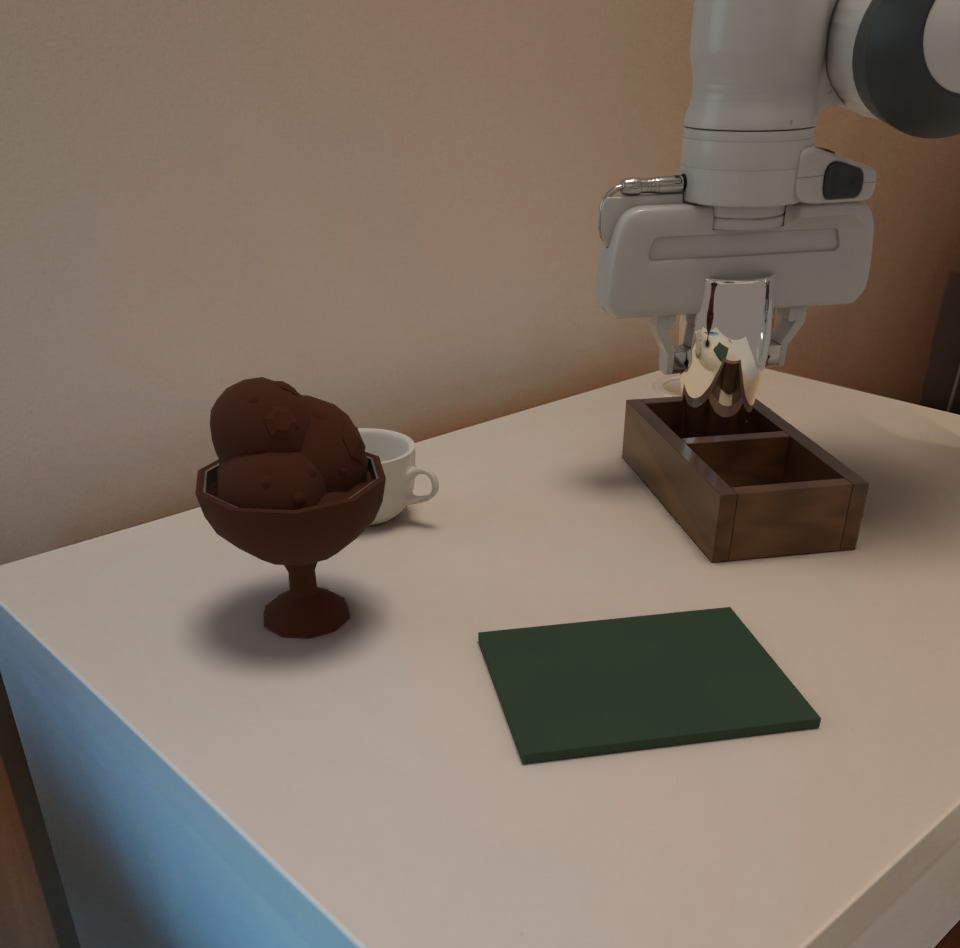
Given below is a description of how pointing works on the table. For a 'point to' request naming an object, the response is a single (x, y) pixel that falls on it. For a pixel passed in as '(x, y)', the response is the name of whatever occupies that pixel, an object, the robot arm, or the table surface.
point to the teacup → (396, 470)
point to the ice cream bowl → (289, 492)
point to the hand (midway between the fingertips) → (721, 368)
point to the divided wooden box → (745, 484)
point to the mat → (638, 684)
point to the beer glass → (725, 355)
